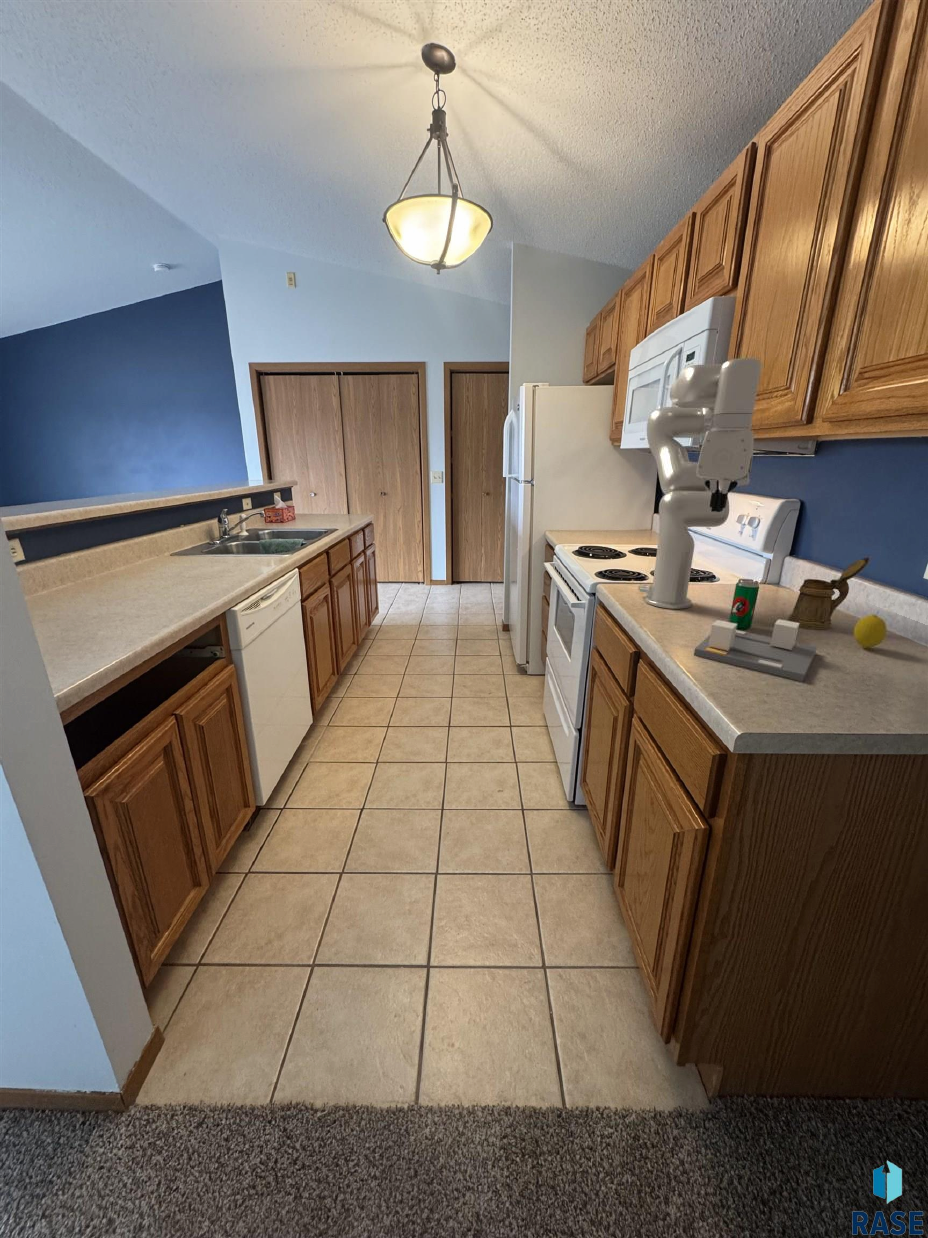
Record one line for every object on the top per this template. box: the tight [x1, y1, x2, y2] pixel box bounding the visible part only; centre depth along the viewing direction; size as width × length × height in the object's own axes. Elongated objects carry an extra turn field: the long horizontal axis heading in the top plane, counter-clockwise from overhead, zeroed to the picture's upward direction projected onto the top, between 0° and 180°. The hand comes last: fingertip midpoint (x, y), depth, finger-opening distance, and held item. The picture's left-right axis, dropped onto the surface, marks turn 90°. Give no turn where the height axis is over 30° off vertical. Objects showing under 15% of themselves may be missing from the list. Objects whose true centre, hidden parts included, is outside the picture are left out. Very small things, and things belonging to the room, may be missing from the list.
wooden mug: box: [787, 557, 870, 631], centre depth 123 cm, size 9×14×18 cm, turn 69°
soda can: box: [728, 578, 760, 631], centre depth 123 cm, size 5×5×12 cm
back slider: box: [770, 619, 800, 650], centre depth 107 cm, size 4×4×5 cm
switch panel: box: [693, 629, 818, 682], centre depth 107 cm, size 20×18×2 cm
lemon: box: [853, 614, 887, 649], centre depth 110 cm, size 6×6×8 cm
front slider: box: [708, 619, 737, 651], centre depth 107 cm, size 4×4×5 cm
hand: (716, 511), depth 111 cm, fingers closed
